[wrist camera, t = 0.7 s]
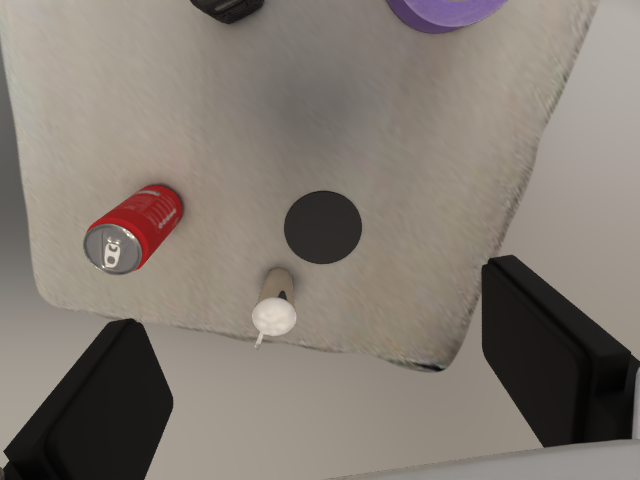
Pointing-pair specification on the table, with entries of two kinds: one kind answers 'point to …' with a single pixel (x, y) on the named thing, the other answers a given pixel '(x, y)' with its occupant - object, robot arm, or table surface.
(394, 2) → the tape roll
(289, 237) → the coaster
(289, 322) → the milkshake
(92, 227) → the beverage can
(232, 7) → the two-way radio
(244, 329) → the table surface
